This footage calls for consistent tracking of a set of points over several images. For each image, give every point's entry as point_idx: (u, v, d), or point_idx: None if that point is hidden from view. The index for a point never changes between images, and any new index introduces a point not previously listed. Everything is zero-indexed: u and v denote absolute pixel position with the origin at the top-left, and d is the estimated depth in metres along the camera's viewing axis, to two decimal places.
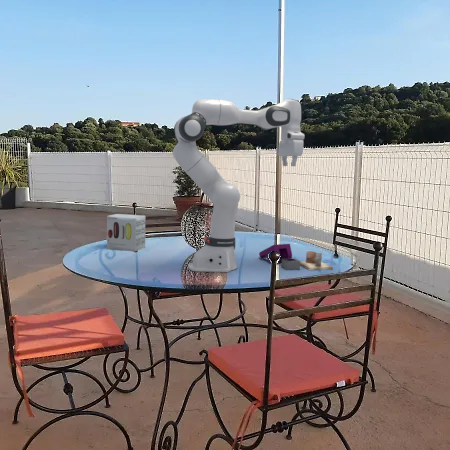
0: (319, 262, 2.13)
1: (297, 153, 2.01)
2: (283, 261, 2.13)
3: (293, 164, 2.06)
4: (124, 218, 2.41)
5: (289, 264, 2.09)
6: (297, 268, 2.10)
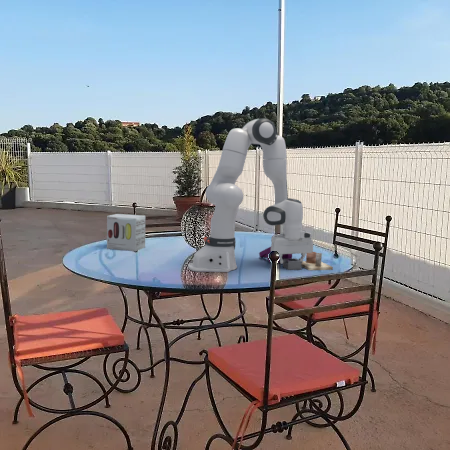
0: (319, 262, 2.13)
1: None
2: (284, 261, 2.13)
3: None
4: (124, 218, 2.41)
5: (290, 264, 2.09)
6: (298, 268, 2.10)
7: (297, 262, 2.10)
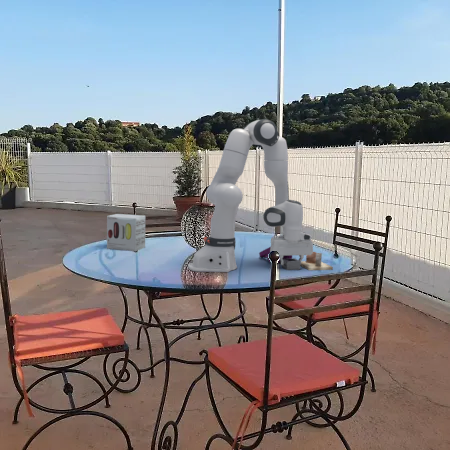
0: (319, 262, 2.13)
1: None
2: None
3: None
4: (124, 218, 2.41)
5: (289, 264, 2.09)
6: (297, 268, 2.10)
7: (296, 262, 2.09)
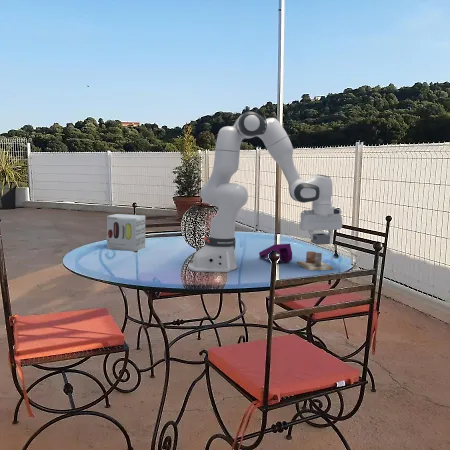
0: (319, 262, 2.13)
1: None
2: None
3: None
4: (124, 218, 2.41)
5: (319, 238, 2.09)
6: (327, 242, 2.10)
7: (326, 236, 2.09)
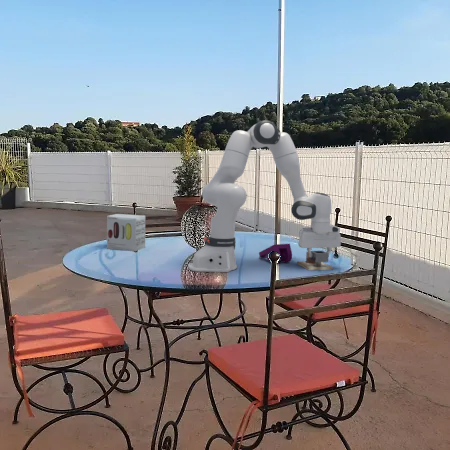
0: (319, 262, 2.13)
1: None
2: None
3: None
4: (124, 218, 2.41)
5: (318, 256, 2.10)
6: (325, 260, 2.11)
7: (324, 254, 2.11)
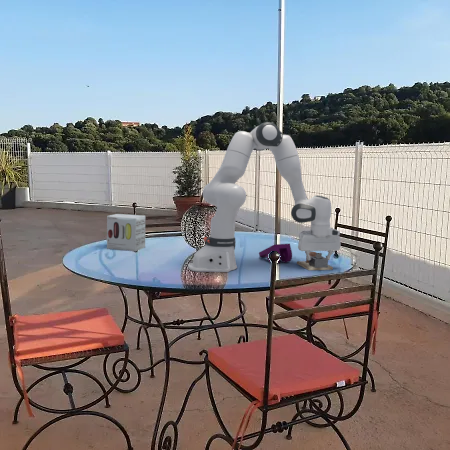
0: None
1: None
2: (311, 259, 2.14)
3: None
4: (124, 218, 2.41)
5: (317, 262, 2.10)
6: (325, 266, 2.11)
7: (324, 260, 2.11)
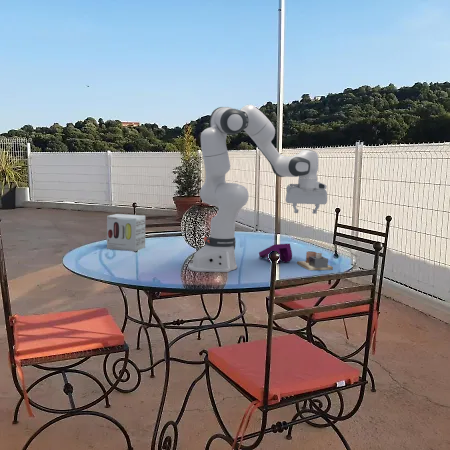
0: None
1: None
2: (311, 259, 2.14)
3: None
4: (124, 218, 2.41)
5: (317, 262, 2.10)
6: (325, 266, 2.11)
7: (324, 260, 2.11)
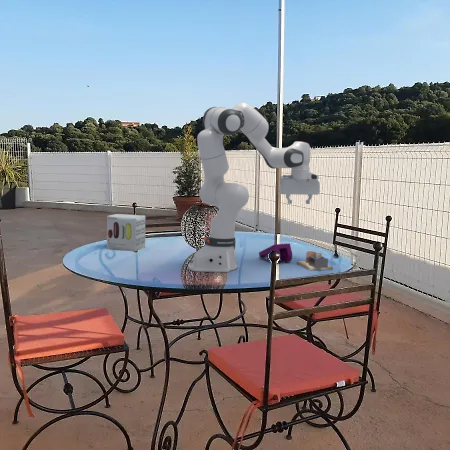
0: None
1: None
2: (311, 259, 2.14)
3: None
4: (124, 218, 2.41)
5: (317, 262, 2.10)
6: (325, 266, 2.11)
7: (324, 260, 2.11)
